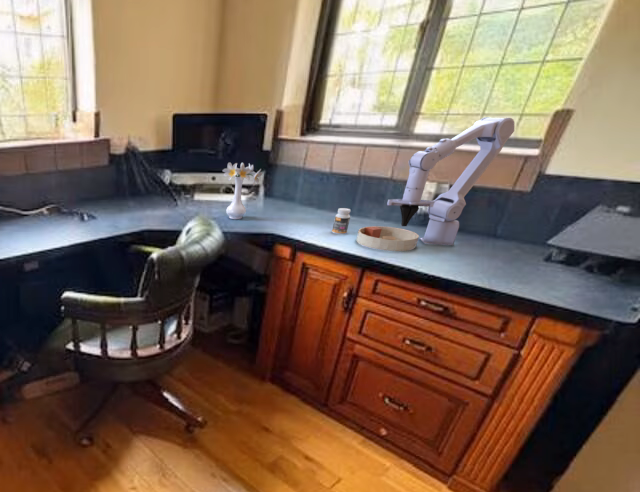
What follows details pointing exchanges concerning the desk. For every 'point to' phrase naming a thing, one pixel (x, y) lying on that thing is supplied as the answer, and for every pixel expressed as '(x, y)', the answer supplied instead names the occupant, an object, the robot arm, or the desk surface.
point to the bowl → (401, 243)
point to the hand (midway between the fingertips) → (403, 225)
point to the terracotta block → (373, 231)
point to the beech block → (388, 237)
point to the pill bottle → (341, 221)
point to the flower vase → (239, 187)
